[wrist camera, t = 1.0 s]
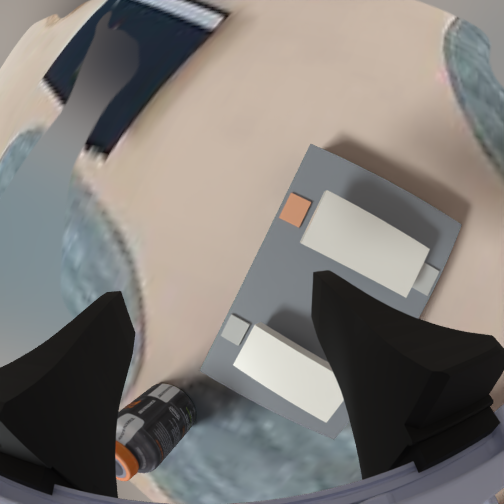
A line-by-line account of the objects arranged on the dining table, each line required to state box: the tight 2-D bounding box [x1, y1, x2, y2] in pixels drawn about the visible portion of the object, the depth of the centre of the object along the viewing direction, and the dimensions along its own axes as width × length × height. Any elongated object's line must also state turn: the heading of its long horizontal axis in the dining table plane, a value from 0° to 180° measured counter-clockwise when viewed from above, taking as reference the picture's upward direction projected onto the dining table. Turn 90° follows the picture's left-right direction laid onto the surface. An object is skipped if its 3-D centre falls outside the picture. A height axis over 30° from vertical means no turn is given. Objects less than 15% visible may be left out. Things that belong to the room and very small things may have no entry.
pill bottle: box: [115, 383, 196, 481], centre depth 22 cm, size 6×6×11 cm
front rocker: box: [300, 190, 430, 298], centre depth 18 cm, size 8×4×1 cm, turn 64°
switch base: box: [200, 144, 461, 439], centre depth 22 cm, size 13×20×4 cm, turn 154°
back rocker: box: [233, 322, 344, 423], centre depth 20 cm, size 8×4×1 cm, turn 64°
